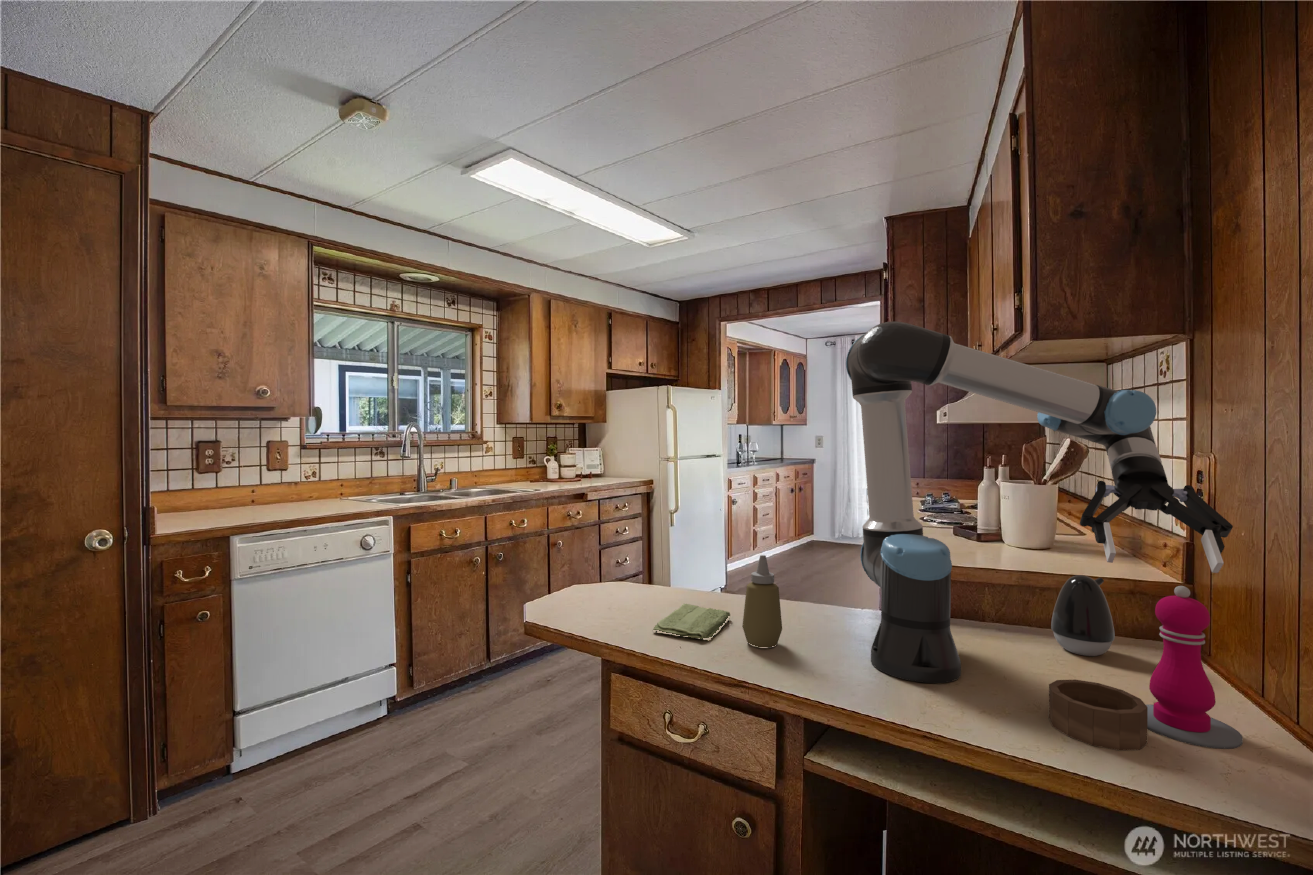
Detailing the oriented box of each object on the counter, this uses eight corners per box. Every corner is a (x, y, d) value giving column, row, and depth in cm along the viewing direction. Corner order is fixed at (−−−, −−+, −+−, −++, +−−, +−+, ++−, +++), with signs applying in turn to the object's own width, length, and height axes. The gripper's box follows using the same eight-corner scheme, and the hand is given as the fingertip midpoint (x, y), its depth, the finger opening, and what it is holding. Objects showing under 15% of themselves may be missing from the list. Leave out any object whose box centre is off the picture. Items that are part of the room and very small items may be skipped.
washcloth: (650, 636, 124) (650, 621, 124) (682, 614, 140) (682, 600, 140) (707, 646, 118) (708, 630, 118) (735, 622, 134) (735, 608, 134)
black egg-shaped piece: (1128, 658, 113) (1129, 579, 113) (1088, 663, 110) (1088, 582, 110) (1077, 640, 123) (1077, 568, 123) (1038, 645, 120) (1039, 571, 120)
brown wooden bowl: (1036, 724, 86) (1036, 690, 86) (1067, 705, 92) (1068, 674, 92) (1129, 758, 77) (1129, 720, 77) (1156, 735, 83) (1157, 700, 83)
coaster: (1119, 721, 87) (1119, 717, 87) (1146, 701, 94) (1146, 698, 94) (1230, 758, 77) (1230, 753, 77) (1251, 732, 84) (1252, 728, 84)
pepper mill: (1228, 737, 81) (1229, 593, 81) (1168, 731, 83) (1169, 590, 83) (1193, 713, 88) (1193, 581, 88) (1138, 708, 90) (1139, 578, 90)
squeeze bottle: (737, 648, 116) (738, 557, 116) (747, 635, 124) (747, 550, 124) (778, 654, 113) (779, 561, 113) (785, 640, 120) (786, 553, 121)
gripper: (1217, 485, 106) (1256, 585, 92) (1053, 477, 116) (1067, 566, 103) (1231, 456, 101) (1276, 558, 87) (1059, 451, 112) (1074, 540, 98)
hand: (1163, 562), depth 95 cm, fingers open, 13 cm apart
